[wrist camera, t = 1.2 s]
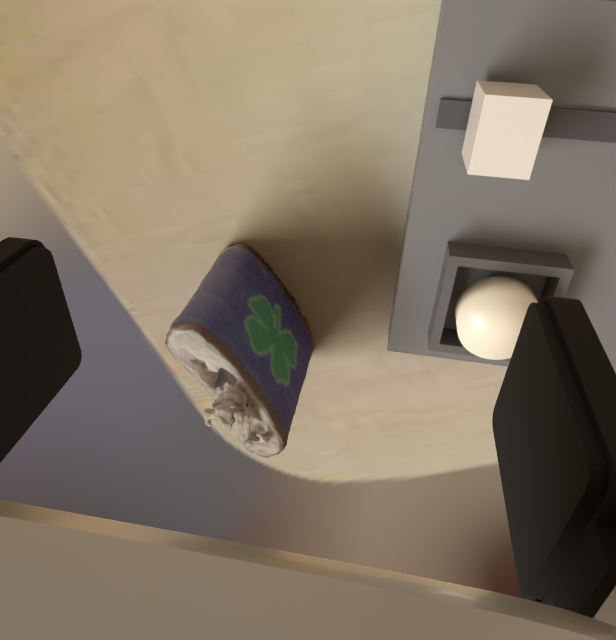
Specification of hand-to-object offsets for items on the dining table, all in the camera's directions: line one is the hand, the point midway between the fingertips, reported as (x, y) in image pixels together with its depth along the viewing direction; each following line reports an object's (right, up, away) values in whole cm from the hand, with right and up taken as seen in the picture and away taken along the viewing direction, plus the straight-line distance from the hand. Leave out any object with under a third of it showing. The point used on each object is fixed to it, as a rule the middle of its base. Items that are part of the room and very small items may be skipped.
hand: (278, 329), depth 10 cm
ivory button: (+10, +1, +16) cm, 19 cm away
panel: (+14, +6, +16) cm, 22 cm away
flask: (-2, +1, +22) cm, 23 cm away
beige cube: (+9, +9, +12) cm, 17 cm away
